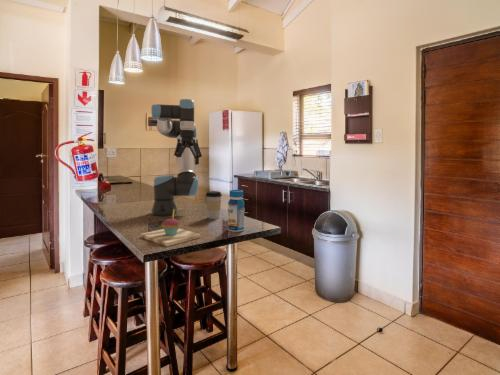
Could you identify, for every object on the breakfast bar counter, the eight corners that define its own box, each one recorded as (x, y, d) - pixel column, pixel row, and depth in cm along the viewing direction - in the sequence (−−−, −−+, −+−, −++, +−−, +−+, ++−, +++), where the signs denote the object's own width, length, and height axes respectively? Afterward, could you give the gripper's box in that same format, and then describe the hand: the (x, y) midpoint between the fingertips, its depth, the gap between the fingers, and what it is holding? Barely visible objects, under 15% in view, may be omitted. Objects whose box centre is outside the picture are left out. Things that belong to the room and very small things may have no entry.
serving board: (140, 237, 148) (140, 233, 148) (173, 229, 162) (173, 226, 161) (166, 246, 135) (166, 242, 135) (200, 237, 149) (200, 234, 148)
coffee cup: (219, 220, 183) (219, 193, 181) (203, 219, 185) (203, 193, 183) (223, 216, 193) (223, 191, 191) (208, 215, 194) (208, 190, 192)
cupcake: (172, 230, 154) (171, 205, 152) (184, 233, 149) (184, 208, 147) (157, 234, 147) (156, 208, 145) (170, 238, 142) (169, 211, 140)
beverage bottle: (245, 231, 159) (246, 191, 157) (228, 232, 158) (228, 191, 155) (243, 227, 167) (243, 189, 165) (226, 228, 166) (227, 189, 163)
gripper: (167, 129, 176) (167, 168, 179) (197, 129, 160) (197, 171, 163) (178, 130, 181) (179, 168, 184) (208, 129, 165) (208, 171, 168)
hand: (187, 170), depth 173 cm, fingers open, 13 cm apart
